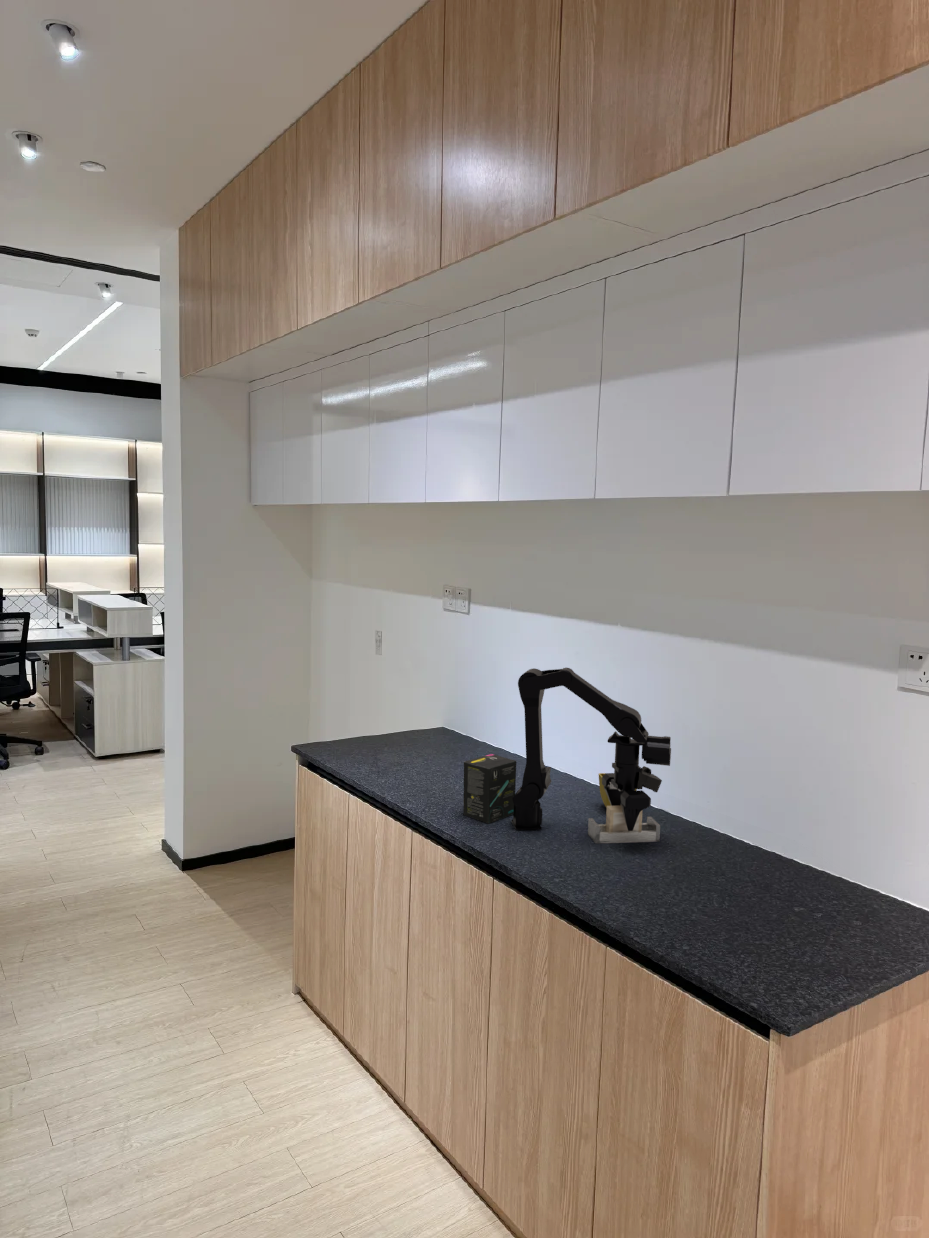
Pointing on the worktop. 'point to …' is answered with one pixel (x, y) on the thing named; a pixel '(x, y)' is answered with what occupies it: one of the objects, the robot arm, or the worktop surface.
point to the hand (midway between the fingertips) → (623, 823)
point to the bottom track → (624, 833)
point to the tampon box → (489, 788)
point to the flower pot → (603, 792)
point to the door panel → (619, 820)
